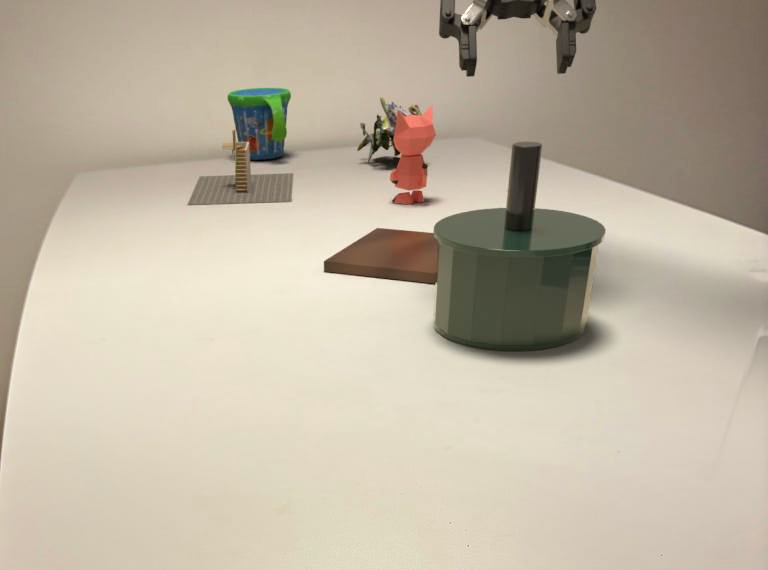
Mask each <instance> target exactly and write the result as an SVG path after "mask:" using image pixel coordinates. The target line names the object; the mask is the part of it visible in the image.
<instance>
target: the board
mask: <svg viewBox="0 0 768 570" xmlns="http://www.w3.org/2000/svg"><path fill="white" fill-rule="evenodd" d="M437 249H438V241H437V240H436V239H435V238H434V235H433V232H428V231H427V232H426V231H417V230H416V231H415V230H404V229H395V228H394V229H393V228H381V227H375V228H374V229H373V230H372V231H370V232H368V233H366V234H365V235H363V236H361V237H360V238H359V239H357V240H355V241H354V242H353V243H350V244H349V245H347V246H346V247H344V248H343V249H341V250H339V251H337V252H336V253H335V254H333V255H331V256H330V257H328V258H326V259H325V260H324V261H323V272H326V273H335V274H343V275H353V276H360V277H361V276H362V277H371V278H378V279H388V280H398V281H406V282H416V283H425V284H432V285H435V283H436V266H437Z"/></svg>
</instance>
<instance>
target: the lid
mask: <svg viewBox="0 0 768 570" xmlns="http://www.w3.org/2000/svg"><path fill="white" fill-rule="evenodd" d="M542 149H543V144H542V143H541V142H539V141H538V142H537V141H517V142H513V143H512V145H511V153H510V154H511V155H510V166H509V176H508V184H507V185H508V186H507V195H506V196H507V197H506V204H505V205H506V206H505V207H494V208H493V207H492V208H483V209H475V210H469V211H464V212H463V211H462V212H459V213H455V214H451V215H449V216H445V217H444V218H441V219H440V220H438V221H437V222H436V223H435V224H434V226H433V232H432V233H433V235H434V238H435V239H436V240H437V241H438V242H440V243H441V244H443V245H445V246H447V247H450V248H453V249H456V250H460V251H464V252H468V253H473V254H480V255H487V256H498V257H516V258H530V257H550V256H559V255H566V254H572V253H577V252H581V251H584V250H588V249H591V248H593V247H595V246H597V245H599V246H600V244H601V243H603V242H604V240H605V238H606V231H607V230H606V228H605V225H603V224H602V223H601V222H599V221H598V220H596V219H594V218H591V217H589V216H585V215H582V214H578V213H574V212H569V211H563V210H558V209H549V208H539V207H538V208H537V207H536V202H537V193H538V184H539V176H540V167H541V159H542V151H543V150H542Z"/></svg>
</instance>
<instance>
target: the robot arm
mask: <svg viewBox="0 0 768 570" xmlns="http://www.w3.org/2000/svg"><path fill="white" fill-rule="evenodd" d="M439 1H440V2H439V25H438V36H439V37H440V38H442V39H444V40H446V39H449V38H450V37H452V38H454V39H456V40H457V42H458V65H459V68H460V71H462V72H463V71H465V73H466V74H465V75H466V77H469V78H470V77H471V78H473V77H475V75H476V69H477V65H478V64H477V63H478V46H477V45H478V44H477V43H478V42H477V33H478V32H479V30H480V31H481V30H483V28H484V27H485V26H486V25H487V23H488V22H489V21H490V19H491V18H492V17H493V16H494V17H497V18H496V19H497V20H507V19H508V20H509V19H512V18H518V19H522V20H524V19H531V17H532V16H533V17H534V18H535V19H536V20H537V21H538V22H539V24H541V26H543V28H549V29H550V30H551V31H552V32H553V33H554V34H555V35H556V39H555V51H556V52H555V53H556V54H555V55H556V56H555V57H556V73H557V75H562V74H566V73H567V70H568V68H572V65H573V64H574V63H573V62H574V60H575V56H576V54H577V35H576V34H577V33H579V34H583V35H584V34H587V33H589V31H590V28H591V24H592V21H593V18H594V15H595V13H596V10H597V2H596V0H573V6H571V4H570V3H569V2H568V1H567V0H472V3H471V4H470V5H469V6H468V8H467V9H466V10H465V11H464V13H463V14H459V13H456V0H439ZM545 3H546V4H545Z"/></svg>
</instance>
